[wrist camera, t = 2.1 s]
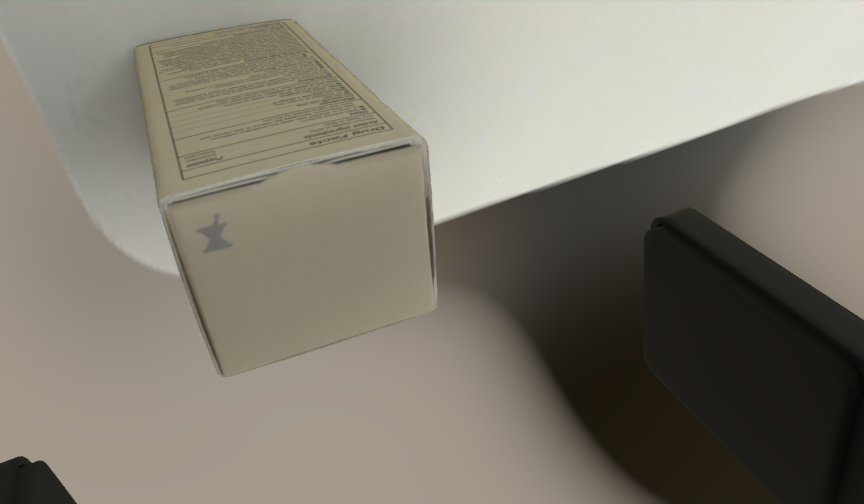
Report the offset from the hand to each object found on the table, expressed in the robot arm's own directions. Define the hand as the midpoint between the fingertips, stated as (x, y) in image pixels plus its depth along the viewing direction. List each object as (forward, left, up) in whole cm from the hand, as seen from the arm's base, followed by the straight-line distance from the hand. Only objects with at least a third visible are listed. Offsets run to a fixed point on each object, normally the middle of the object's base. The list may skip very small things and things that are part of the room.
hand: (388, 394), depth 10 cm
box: (0, 0, -15) cm, 15 cm away
